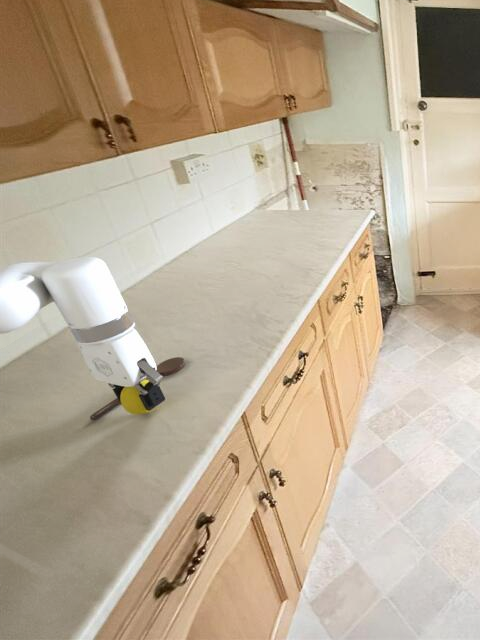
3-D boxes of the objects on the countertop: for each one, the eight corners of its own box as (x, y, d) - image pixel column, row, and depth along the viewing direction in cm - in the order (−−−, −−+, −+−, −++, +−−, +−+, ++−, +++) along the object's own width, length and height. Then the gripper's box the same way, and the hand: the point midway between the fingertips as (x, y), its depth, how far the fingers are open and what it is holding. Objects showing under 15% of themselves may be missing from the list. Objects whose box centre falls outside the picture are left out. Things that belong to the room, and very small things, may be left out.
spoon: (102, 423, 76) (99, 419, 76) (82, 419, 77) (79, 414, 77) (191, 362, 92) (189, 358, 92) (173, 359, 93) (171, 354, 93)
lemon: (123, 419, 77) (105, 388, 74) (154, 399, 82) (139, 368, 78) (143, 426, 75) (126, 395, 72) (173, 405, 80) (158, 375, 77)
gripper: (41, 330, 68) (88, 408, 76) (117, 345, 65) (158, 425, 72) (92, 307, 75) (130, 381, 83) (163, 320, 71) (196, 396, 79)
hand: (143, 401), depth 77 cm, fingers closed on lemon, 5 cm apart
